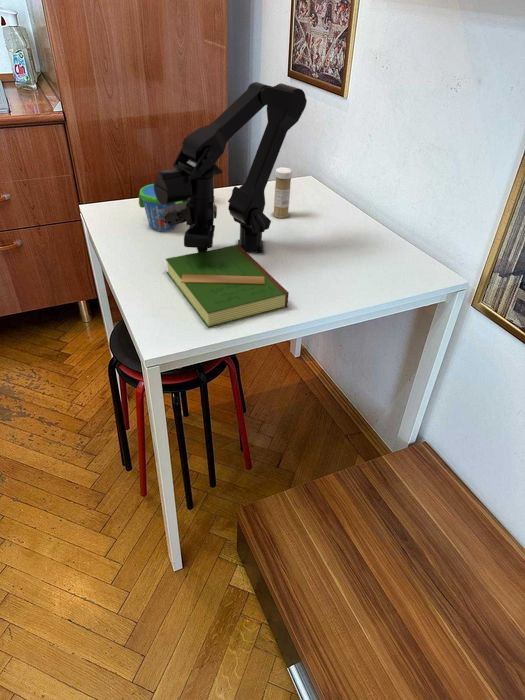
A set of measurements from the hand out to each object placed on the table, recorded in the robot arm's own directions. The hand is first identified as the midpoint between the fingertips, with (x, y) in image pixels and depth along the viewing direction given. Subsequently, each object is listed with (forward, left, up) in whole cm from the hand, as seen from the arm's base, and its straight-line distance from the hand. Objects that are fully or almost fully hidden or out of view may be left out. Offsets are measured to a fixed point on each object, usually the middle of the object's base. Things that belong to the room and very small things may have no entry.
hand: (201, 256), depth 123 cm
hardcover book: (+12, +6, -2) cm, 14 cm away
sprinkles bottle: (-30, +21, -2) cm, 36 cm away
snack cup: (-20, -12, -2) cm, 23 cm away
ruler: (+15, +6, +2) cm, 16 cm away
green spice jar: (-37, -6, -2) cm, 37 cm away
